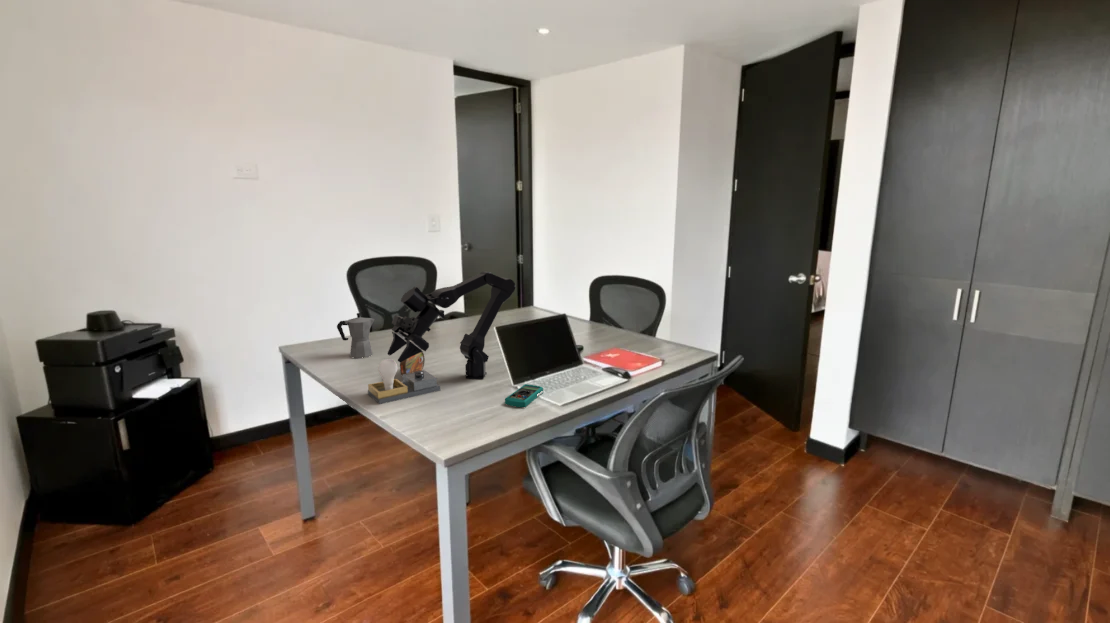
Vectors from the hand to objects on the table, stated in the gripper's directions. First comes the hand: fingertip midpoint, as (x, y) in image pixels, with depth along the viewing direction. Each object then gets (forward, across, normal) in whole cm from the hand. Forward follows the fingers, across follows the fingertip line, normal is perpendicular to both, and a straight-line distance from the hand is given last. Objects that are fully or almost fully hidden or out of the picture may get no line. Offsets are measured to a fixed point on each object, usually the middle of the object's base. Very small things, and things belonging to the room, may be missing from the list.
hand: (393, 358), depth 166 cm
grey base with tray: (+7, 0, +11) cm, 13 cm away
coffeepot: (+6, -51, +12) cm, 53 cm away
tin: (0, -16, +18) cm, 24 cm away
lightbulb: (+10, 0, +6) cm, 11 cm away
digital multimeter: (-14, +28, +32) cm, 45 cm away
